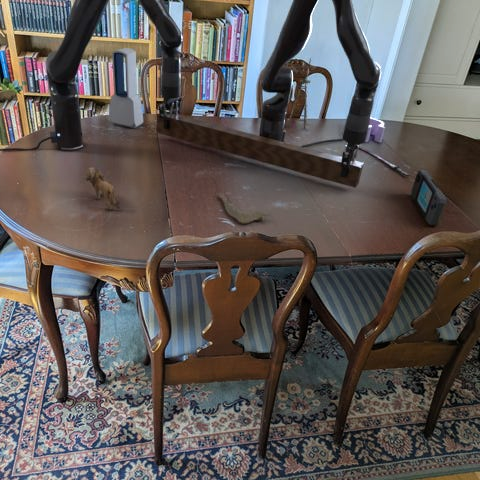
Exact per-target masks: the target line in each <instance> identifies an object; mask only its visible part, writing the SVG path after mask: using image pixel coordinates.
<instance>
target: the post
mask: <svg viewBox="0 0 480 480" xmlns="http://www.w3.org/2000/svg"><path fill="white" fill-rule="evenodd" d="M162 115H163V114H162ZM166 115H168V114H167V113H166ZM169 120H170V128H169V129H164V120H163V119H160V115H159V112H158V113H156V133H157V134H160V135H163V136H167V137H171V138H175V139H178V140H182V141H185V142H189V143H191V144H192V143H193V144H196V145H199V146H203V147H206V148H210V149H213V150H217V151H220V152H225V153H229V154H232V155H235V156H238V157H242V158H246V159H249V160H253V161H257V162H261V163H264V164H268V165H272V166H274V167H279V168H282V169H286V170H290V171H293V172H295V173H296V172H297V173H300V174H304V175H307V176H311V177H314V178H318V179H322V180H326V181H329V182H333V183H335V184H339V185H344V186H347V187H351V188H357V187H358V185H359V184H360V180H361V177H362V172H363V169H364V164H365V162H363V161H357V160H355V159H354V160H353V161H352V162H351V164H350V167H349V171H348V175H347V177H346V178H344V177H341V176H340V175H341V170H342V167H341V162H342V156H338V155H336V154H335V155H334V154H331V153H327V152H323V151H318V150H315V149H311V148H307V147H300V146H301V145H296V144H293V143H288V142H285V141H284V142H281V141H277V140H273V139H269V138H265V137H261V136H259V134H258V135H257V134H253V133H249V132H245V131H242V130H237V129H234V128H230V127H226V126H222V125H219V124H214V123H212V122H211V123H210V122H207V121H203V120H199V119H196V118H191V117H188V116H184V115H181V114H178V115H176V114H171V115H170V119H169ZM345 164H347V162H345Z"/></svg>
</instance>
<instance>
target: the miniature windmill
mask: <svg viewBox="0 0 480 480" xmlns="http://www.w3.org/2000/svg"><path fill="white" fill-rule="evenodd" d="M311 60H312V58H311V57H310V58H309V61H308V67H307V66H306V67H304V66H302V65H300V64H299V65H298V64H296V67H295V71H304V75H303V78H302V79H301V78H300V79H299V81H298V82H299V83H301V84H300V85H299V89H298V91H297V95H296V98H295V100H294V104H293V107H292V110H291V113H290V116H289V118H288V119H289V120H288V123H287V125H286V126H287V127H289V126H290V123H291V121H293V120H294V121H299V122H303V130H306V125H307V119H308V115H307V107H308V105H307V98H308V96H307V88H308V86H307V84H311V80H309V79H308V78H309V74H310V66H311V62H312V61H311ZM306 73H307V74H306ZM302 90H304V94H300V93H301V91H302ZM299 99H302V100H304V103H303V104H302V103H297V102H298V100H299ZM297 106H303V107H297ZM295 109H299V110H303V112H304V113H303V114H296V113H294V112H295ZM293 116H297V117H303V119H297V118H292V117H293Z"/></svg>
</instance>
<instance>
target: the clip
mask: <svg viewBox="0 0 480 480" xmlns="http://www.w3.org/2000/svg"><path fill="white" fill-rule="evenodd" d="M385 129H386V127H385V122H384V121H383V120H380V119H377V118H374V117H372V116H371V117H370V124H369V128H368V132H367V136H366V140H365V142H364V143H368V142H369V140H370V135H372V136H374V139H373V140H374V142H376V143H382V140H383V137H384V132H385Z"/></svg>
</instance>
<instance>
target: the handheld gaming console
mask: <svg viewBox="0 0 480 480" xmlns="http://www.w3.org/2000/svg"><path fill="white" fill-rule="evenodd" d="M410 192H411V193H410V195H411V197H412V199H413V201H414V203H415V205H416V207H417V208H418V210H419V211H420V213H421V215H422V216H423V218H424V220H425V221H426V223H427V224H428V225H429V226H430V227H437V225H439V224H440V221H441V218H442V215H443V213H444V210H445V208H446V204H447V198H446V196H445V195H444V193H443V191H442V190H441V189H440V188H439V186H438V185H437V183H436V182H435V181H434V179H433V178H432V177H431V175H430V174H429V172H427V171H426V170H425V169H419V170H417V172H416V175H415V178H414V181H413V185H412V188H411V191H410Z"/></svg>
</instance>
